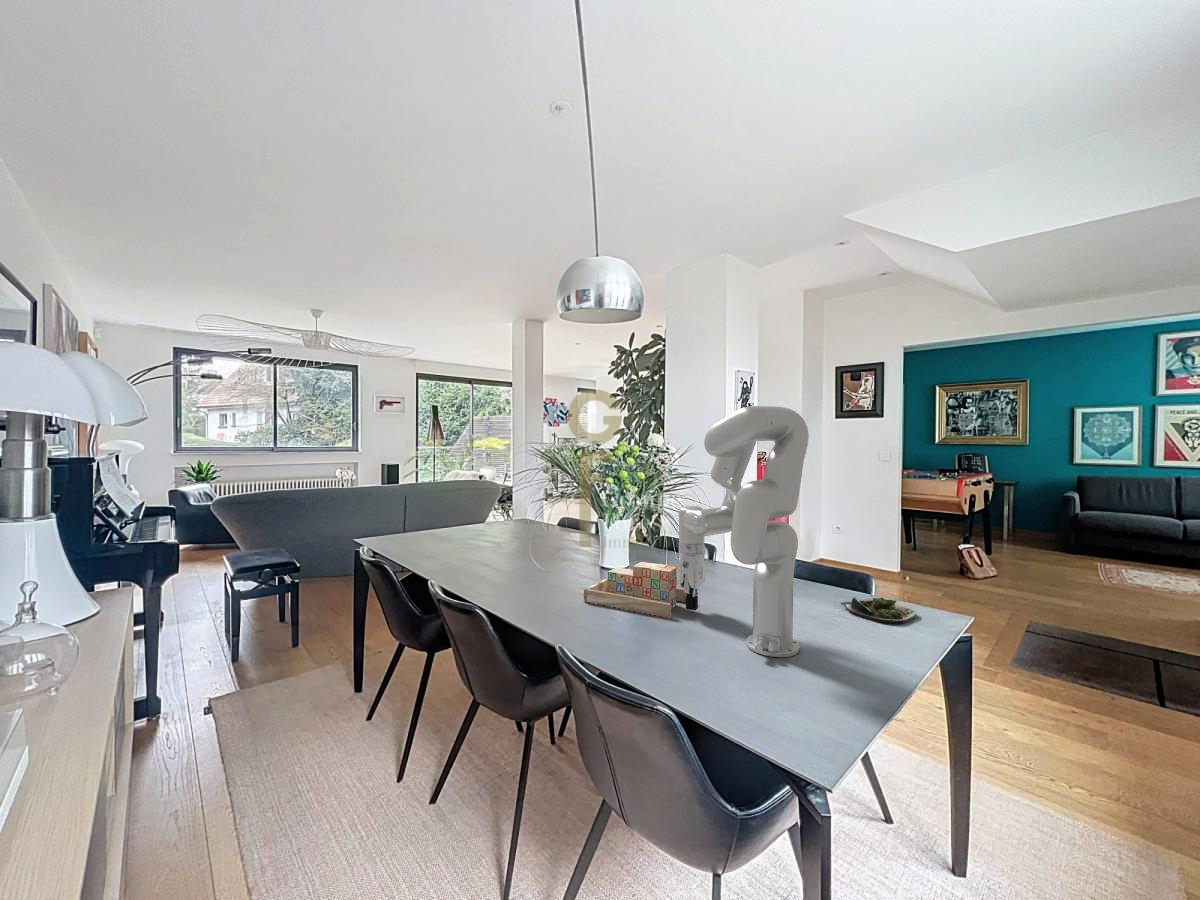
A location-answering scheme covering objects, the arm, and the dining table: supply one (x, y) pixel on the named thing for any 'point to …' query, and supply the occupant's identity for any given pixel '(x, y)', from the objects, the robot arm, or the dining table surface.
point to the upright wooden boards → (629, 600)
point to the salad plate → (879, 610)
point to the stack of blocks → (645, 582)
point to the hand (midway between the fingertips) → (691, 608)
